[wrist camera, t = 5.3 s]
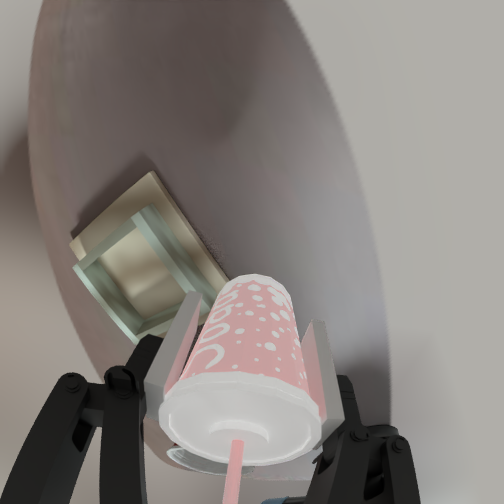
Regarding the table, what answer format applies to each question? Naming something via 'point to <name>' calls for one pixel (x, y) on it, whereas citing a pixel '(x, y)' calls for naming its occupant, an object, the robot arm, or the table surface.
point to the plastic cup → (201, 462)
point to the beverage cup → (244, 384)
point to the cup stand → (145, 261)
